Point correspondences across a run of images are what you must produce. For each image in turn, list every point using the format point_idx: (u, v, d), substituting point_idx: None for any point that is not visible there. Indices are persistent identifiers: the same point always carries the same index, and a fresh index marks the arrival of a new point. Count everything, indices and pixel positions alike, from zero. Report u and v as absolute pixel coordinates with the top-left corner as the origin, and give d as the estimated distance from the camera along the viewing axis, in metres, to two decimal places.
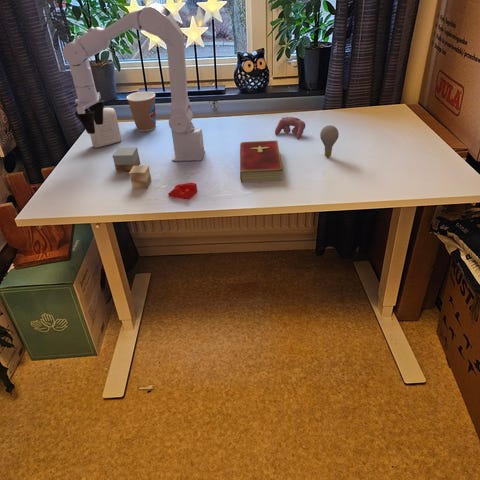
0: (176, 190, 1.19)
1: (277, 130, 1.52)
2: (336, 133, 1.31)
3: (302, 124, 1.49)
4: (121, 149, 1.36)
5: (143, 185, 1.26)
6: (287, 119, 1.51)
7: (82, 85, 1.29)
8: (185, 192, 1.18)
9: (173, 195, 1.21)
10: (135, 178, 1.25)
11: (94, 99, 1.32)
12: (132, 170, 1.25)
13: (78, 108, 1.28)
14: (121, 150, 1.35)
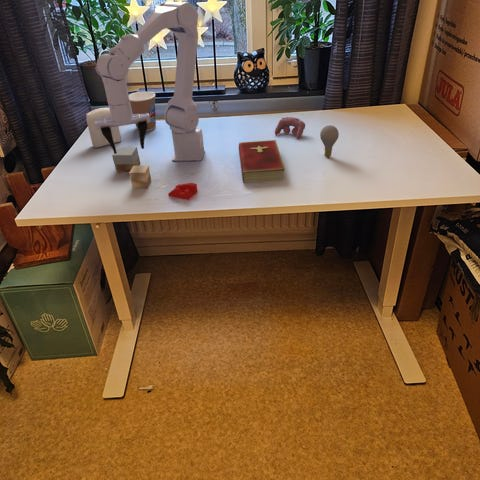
0: (176, 190, 1.19)
1: (277, 130, 1.52)
2: (336, 133, 1.31)
3: (302, 124, 1.49)
4: (121, 149, 1.36)
5: (143, 185, 1.26)
6: (287, 119, 1.51)
7: (126, 101, 1.16)
8: (185, 192, 1.18)
9: (173, 195, 1.21)
10: (135, 178, 1.25)
11: (118, 120, 1.17)
12: (132, 170, 1.25)
13: (95, 123, 1.19)
14: (121, 150, 1.35)
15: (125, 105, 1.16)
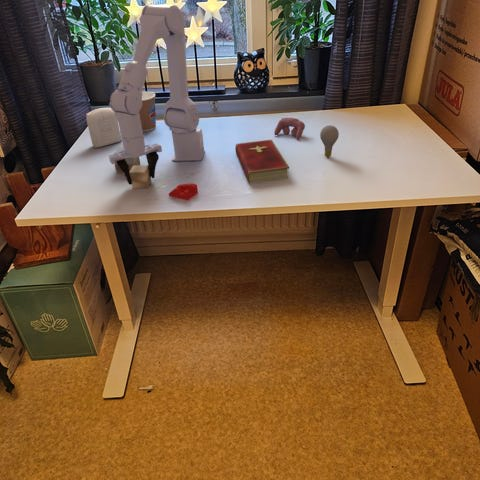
0: (176, 190, 1.19)
1: (276, 131, 1.52)
2: (336, 133, 1.31)
3: (301, 125, 1.49)
4: (122, 149, 1.36)
5: (143, 185, 1.26)
6: (286, 120, 1.51)
7: (140, 134, 1.18)
8: (184, 193, 1.18)
9: (173, 195, 1.21)
10: (135, 178, 1.25)
11: (133, 153, 1.20)
12: (132, 170, 1.25)
13: (109, 157, 1.20)
14: (121, 150, 1.35)
15: (140, 138, 1.18)
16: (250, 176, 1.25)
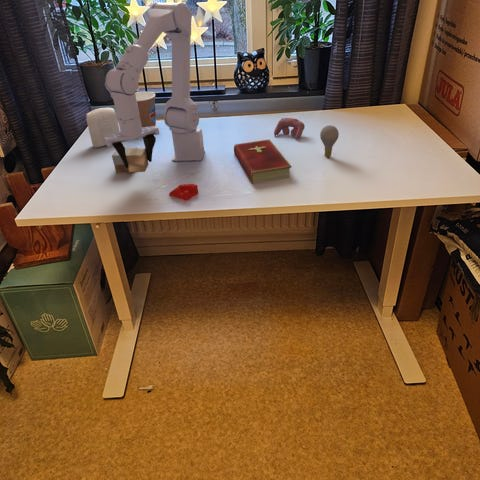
0: (176, 190, 1.19)
1: (276, 131, 1.52)
2: (336, 133, 1.31)
3: (301, 125, 1.49)
4: None
5: (140, 168, 1.23)
6: (286, 120, 1.50)
7: (137, 115, 1.15)
8: (184, 193, 1.18)
9: (173, 195, 1.21)
10: (131, 161, 1.22)
11: (129, 135, 1.17)
12: (129, 153, 1.22)
13: (105, 139, 1.17)
14: None
15: (136, 119, 1.15)
16: (253, 176, 1.24)
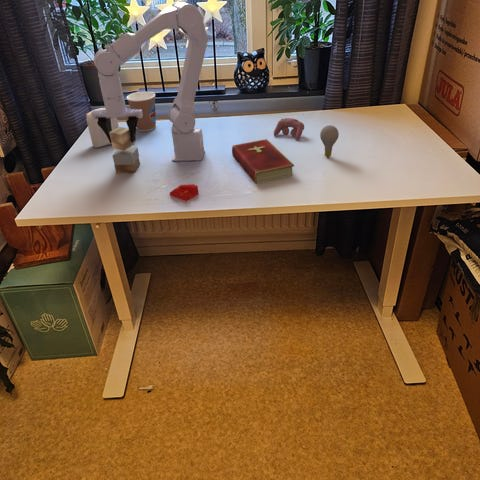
0: (176, 190, 1.19)
1: (276, 131, 1.51)
2: (336, 133, 1.31)
3: (301, 125, 1.48)
4: None
5: (120, 146, 1.31)
6: (286, 120, 1.50)
7: (115, 96, 1.22)
8: (183, 193, 1.18)
9: (173, 195, 1.21)
10: (113, 139, 1.30)
11: (109, 113, 1.25)
12: (113, 130, 1.30)
13: None
14: (121, 150, 1.35)
15: (115, 99, 1.23)
16: (257, 176, 1.24)
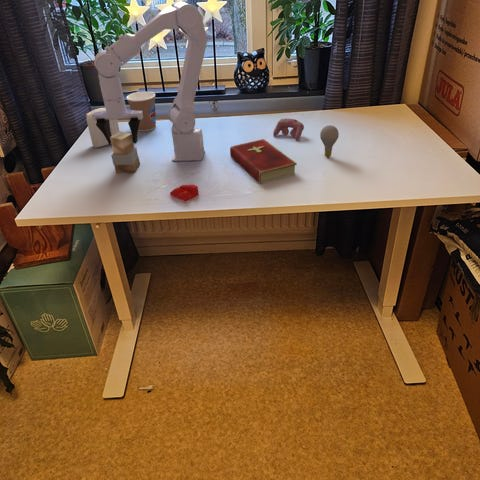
0: (176, 190, 1.19)
1: (275, 132, 1.51)
2: (336, 133, 1.31)
3: (300, 126, 1.48)
4: None
5: (121, 151, 1.32)
6: (285, 121, 1.50)
7: (116, 97, 1.23)
8: (183, 194, 1.18)
9: (174, 195, 1.21)
10: (114, 143, 1.31)
11: (109, 114, 1.25)
12: (114, 135, 1.31)
13: None
14: None
15: (115, 101, 1.23)
16: (261, 176, 1.24)
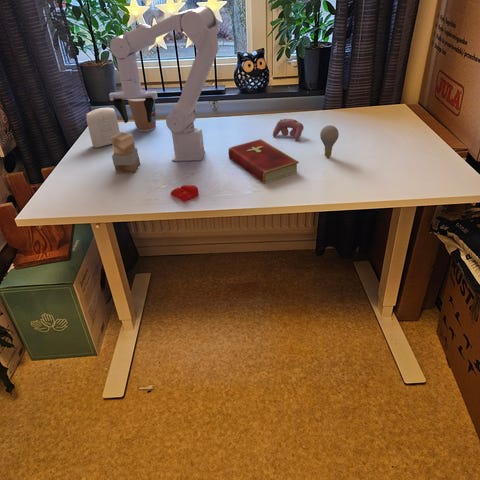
0: (176, 190, 1.19)
1: (275, 132, 1.51)
2: (336, 133, 1.31)
3: (300, 126, 1.48)
4: None
5: (121, 152, 1.32)
6: (285, 121, 1.50)
7: (126, 78, 1.31)
8: (182, 194, 1.17)
9: (174, 195, 1.21)
10: (115, 144, 1.31)
11: (126, 94, 1.34)
12: (115, 135, 1.31)
13: None
14: None
15: (132, 81, 1.31)
16: (265, 176, 1.24)
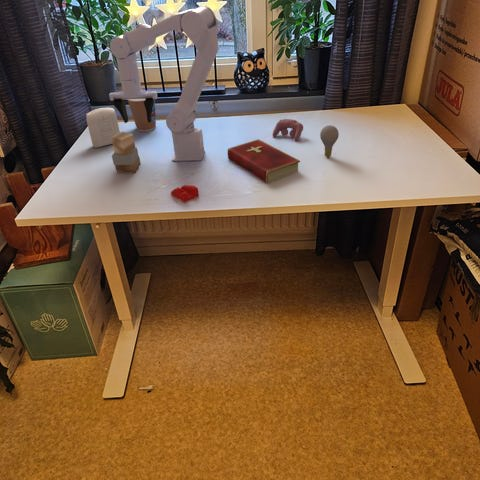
0: (176, 190, 1.19)
1: (275, 132, 1.51)
2: (336, 133, 1.31)
3: (300, 126, 1.48)
4: None
5: (121, 151, 1.31)
6: (285, 121, 1.49)
7: (126, 78, 1.31)
8: (182, 194, 1.17)
9: (174, 195, 1.21)
10: (115, 143, 1.31)
11: (126, 94, 1.34)
12: (115, 135, 1.31)
13: None
14: None
15: (132, 81, 1.31)
16: (268, 176, 1.24)
